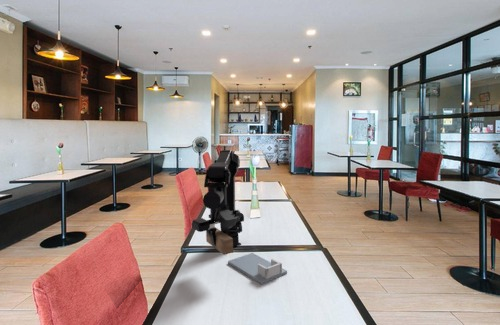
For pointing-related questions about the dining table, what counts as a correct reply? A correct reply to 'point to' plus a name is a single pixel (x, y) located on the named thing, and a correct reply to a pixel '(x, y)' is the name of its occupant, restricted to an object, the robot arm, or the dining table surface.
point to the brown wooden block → (221, 242)
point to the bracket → (258, 267)
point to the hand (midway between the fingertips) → (219, 243)
